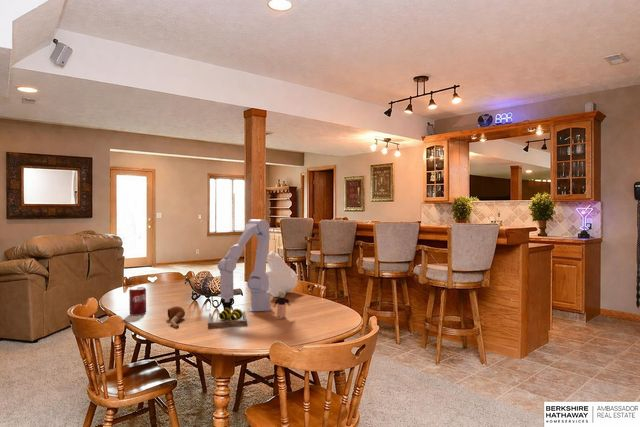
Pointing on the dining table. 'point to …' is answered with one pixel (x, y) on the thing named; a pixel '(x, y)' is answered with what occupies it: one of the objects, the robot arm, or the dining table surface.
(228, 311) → the opera glasses
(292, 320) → the dining table surface
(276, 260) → the white rounded lump
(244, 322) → the bar
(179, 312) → the smoking pipe
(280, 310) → the grandmother figurine
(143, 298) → the soda can
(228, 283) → the robot arm
